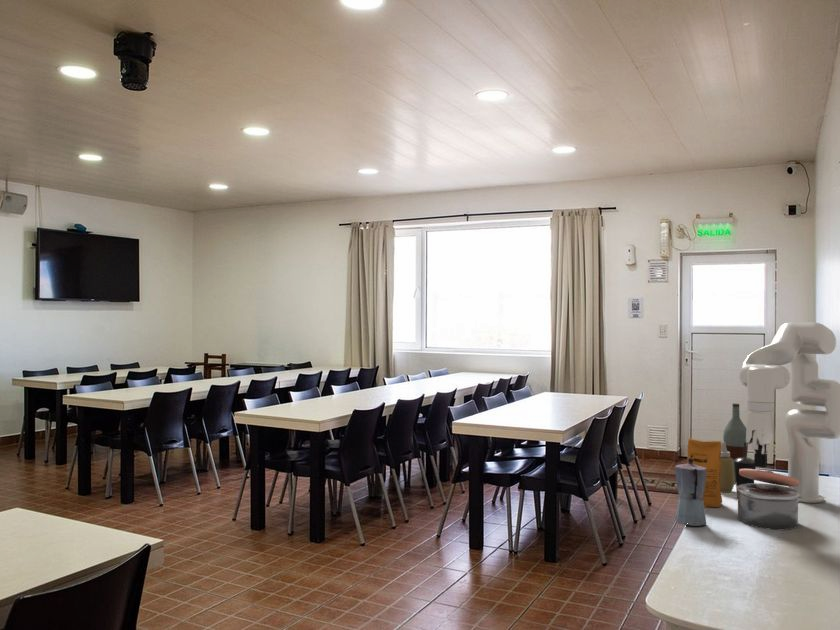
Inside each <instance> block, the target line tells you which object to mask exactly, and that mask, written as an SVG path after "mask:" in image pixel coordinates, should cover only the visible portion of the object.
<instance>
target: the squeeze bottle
mask: <svg viewBox="0 0 840 630" xmlns="http://www.w3.org/2000/svg"><path fill="white" fill-rule="evenodd" d="M720 460H721V476H720V490H721V493H731V492H732V491H733V490H734V486H735V485H736V482H735V475H734V466H733V459H731V458H730V452H728V451H727V449H726V444H725V442H724V441H721V456H720Z"/></svg>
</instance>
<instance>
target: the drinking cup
mask: <svg viewBox="0 0 840 630" xmlns="http://www.w3.org/2000/svg"><path fill="white" fill-rule="evenodd" d="M733 462H734V468H735V479H736V482H735V489H736V498H737V500H738V492H737V486H739V485H741V484H748V483H755V480H753V479H749V478H746V477H743V476H741V475H739V470H740V469H755V470H757V469H756V468H757V466H755V465H754V459H753V458H750V457H748V456H747V457H746V443H745V442H744V457H739V458H736V459H733Z"/></svg>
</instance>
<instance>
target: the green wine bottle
mask: <svg viewBox="0 0 840 630" xmlns="http://www.w3.org/2000/svg"><path fill="white" fill-rule="evenodd" d="M731 405H732V412H731V415H732V416H731V419H730V420H729V421H728V423H727V424H726V425H725V427H724V429H723V437H722V439H723V441H722V442H725V444H726V449H727V451H728V452H730V458H731V459H736V458H739V457H744V442H745V443H746V457H748V449H749V448H748V447H749V444H748V443H747V442H746V429H747V426H746V425H745V424H744V423H743V421H742V419H741V418H740V406H741V405H740V404H739V403H731ZM733 466H734V462H733ZM734 475H735V468H734ZM735 483H736V479H735Z"/></svg>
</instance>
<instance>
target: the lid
mask: <svg viewBox="0 0 840 630" xmlns="http://www.w3.org/2000/svg"><path fill="white" fill-rule="evenodd" d="M739 475H741V476H743V477H746V478H749V479H753V480H754V481H757V482H760V483H761V482H762V483H764V484H773V485H779V486H784V487H788V486H792V487H796V486H799V481H798V480H796V479H794V478H791V477H788V475H784V474H780V473H777V472H776V473H775V472H774V471H773V470H772V471H771V470H760V469H740V470H739Z"/></svg>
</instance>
